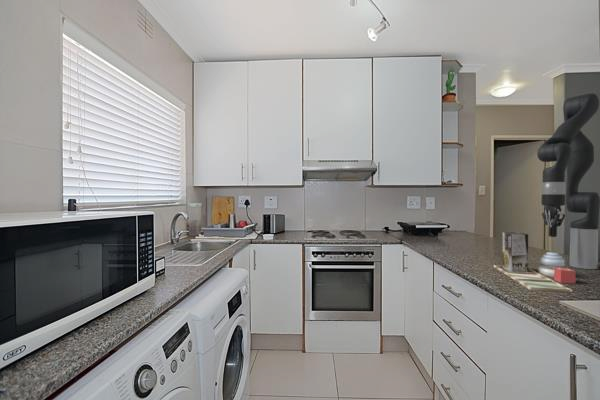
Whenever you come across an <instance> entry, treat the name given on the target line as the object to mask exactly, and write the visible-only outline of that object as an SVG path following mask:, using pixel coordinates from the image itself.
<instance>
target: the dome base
mask: <svg viewBox="0 0 600 400" xmlns="http://www.w3.org/2000/svg"><path fill="white" fill-rule="evenodd" d="M554 268H560V266H549V265H540V266H538V268H537V273H539V274H542V275H543V276H545V277H552V278H554Z"/></svg>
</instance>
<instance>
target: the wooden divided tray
mask: <svg viewBox="0 0 600 400" xmlns="http://www.w3.org/2000/svg"><path fill="white" fill-rule="evenodd" d="M493 267H494V268H495V269H496V270H498V271H500V272H502V273H503V274H505V275H506V276H508V277H509V278H511V279H513V280H514V281H515V282H517V283H518V282H519V283H518V284H520V285H521V286H523V287H525V288H526V289H528V290H530V291H541V292H543V291H545V292H546V291H547V292H560V293H561V292H563V293H573V289H571V288H569V287H567V286H565V285H563V284H561V283H560V282H558V281H556V280H554V279H552V278H549V277H548V276H545V275H541V274H539V273H538V271H535V270H533V269H531V268H529V267H528V272H512V271H507V270H505V269H503V264H500V265H499V264H493Z"/></svg>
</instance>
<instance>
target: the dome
mask: <svg viewBox="0 0 600 400" xmlns="http://www.w3.org/2000/svg"><path fill="white" fill-rule="evenodd" d="M565 261H566V260H565V258H563V256H562V255H560V254H559V252H553V251H547V252H545V253H544V254H543V255H542V256H540V264H541V265H542V266H552V267H565Z"/></svg>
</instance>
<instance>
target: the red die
mask: <svg viewBox="0 0 600 400" xmlns="http://www.w3.org/2000/svg"><path fill="white" fill-rule="evenodd" d="M576 273H577V272H576V270H573V269H570V268H568V267H567V268H566V267H559V268H554V277H553V278H554V279H553V281H555V282H557V283H559V284H561V283H562V284H576Z"/></svg>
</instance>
